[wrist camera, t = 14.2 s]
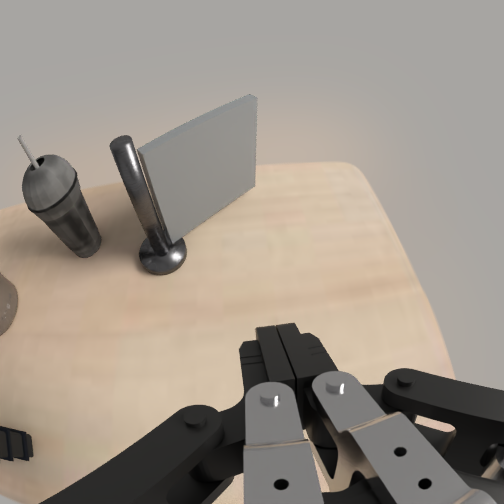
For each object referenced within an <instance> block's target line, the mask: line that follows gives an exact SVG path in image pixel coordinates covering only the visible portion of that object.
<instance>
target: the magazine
mask: <svg viewBox="0 0 504 504" xmlns="http://www.w3.org/2000/svg"><path fill="white" fill-rule="evenodd" d="M13 457H14V458H18V459H21V460H25V461H29V457H33V448H32V439H31V436H30V435H29V434H26V432H24V431H19V430H15V429H10V428H6V427H2V426H0V459H4V460H8V461H13Z"/></svg>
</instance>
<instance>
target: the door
mask: <svg viewBox="0 0 504 504" xmlns="http://www.w3.org/2000/svg"><path fill="white" fill-rule="evenodd" d="M256 131H257V97H255V96H253V95H250V94H249V95H246V96H244V97H242V98H239V99H237V100H235V101H232V102H230V103H228V104H225V105H223V106H221V107H218V108H216V109H214V110H212V111H210V112H207V113H205V114H203V115H201V116H199V117H197V118H195V119H193V120H191V121H189V122H187V123H185V124H183V125H181V126H179V127H177V128H175V129H173V130H171V131H169V132H167V133H165V134H164V135H162V136H160V137H158V138H156V139H154V140H153V141H151V142H149V143H147V144H145V145H144V146H142V147H140V148H138V149H137V151H138V155H139V157H140V161H141V164H142V167H143V170H144V173H145V177H146V180H147V183H148V186H149V188H150V191H151V194H152V197H153V200H154V203H155V206H156V209H157V211H158V214H159V217H160V220H161V223H162V225H163V228H164V231H165V233H166V236H167V238H168V239H169V241H170V242H171V243H172V244H173V243H175V242H176V241H177V240H179V239H180V238H181V237H183V236H184V235H186V234H187V233H188V232H190V231H191V230H193V229H194V228H195V227H197V226H198V225H200V224H201V223H202V222H204V221H205V220H207V219H208V218H209V217H211V216H212V215H214V214H215V213H217V212H218V211H219V210H221V209H222V208H224V207H225V206H227V205H228V204H230V203H231V202H232V201H234V200H235V199H237V198H238V197H240V196H241V195H243V194H244V193H246V192H247V191H249V190H250V189H252V188H253V187H255V170H256Z"/></svg>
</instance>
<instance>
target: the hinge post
mask: <svg viewBox="0 0 504 504" xmlns="http://www.w3.org/2000/svg"><path fill="white" fill-rule="evenodd" d="M110 149H111V151H112V154H113V157H114V160H115V162H116V165H117V167H118V170H119V172H120V175H121V178H122V180H123V182H124V185H125V187H126V190H127V192H128V195H129V197H130V199H131V202H132V204H133V206H134V209H135V211H136V213H137V216H138V218H139V220H140V222H141V225H142V227H143V229H144V231H145V234H146V236H147V238H146V239H145V240H144V242H143V243H142V245H141V247H140V251H139V257H140V260H141V262H142V264H143V266H144V267H145V269H146V270H147V271H148V272H150V273H152V274H155V275H167V274H170V273H172V272H174V271H176V270H177V269H178V268H180V267H181V266H182V264H183V263H184V261H185V259H186V255H187V249H186V245H185V242H184V240H183V238H182V237H181V238H180V239H179V240H177V241H176V242H175V243H173V244H172V243H171V242H170V241H169V239H168V238H167V236H166V233H165V231H164V230H163V229H162V226H161V224H160V221H159V218H158V216H157V213H156V210H155V207H154V204H153V202H152V199H151V196H150V193H149V190H148V187H147V184H146V181H145V178H144V175H143V172H142V169H141V166H140V163H139V160H138V157H137V154H136V151H135V148H134V145H133V141H132V138H131V137H130V136H127V135H124V136H120V137H118V138H116V139H114V140H113V141H112V142H111V143H110Z"/></svg>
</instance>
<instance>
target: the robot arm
mask: <svg viewBox="0 0 504 504" xmlns="http://www.w3.org/2000/svg"><path fill="white" fill-rule="evenodd" d="M17 303H18V296H17V291H16V288H15V286H14V285H13V284H12V283H11V282H10V281H9V280H8V279H7V278H5V277H4V276H3V275H2V274H1V273H0V335H1V334H3V333H4V332H5V331H6V330H7V329H8V328H9V326H10V325H11V323H12V321H13V319H14V316H15V314H16V310H17ZM239 353H240V361H241V369H242V377H243V385H244V396H243V398H242V399H241V401H240V402H239V403H238V404H236V405H235V406H233V407H232V408H229V409H227V410H224V411H221V412H218V411H217V410H216V409H214V408H212V407H210V406H206V405H192V406H187V407H185V408H182V409H180V410H179V411H177V412H176V413H175V414H173V415H172V416H171V417H169V418H168V419H167V420H166V421H164V422H163V423H162V424H160V425H159V426H158V427H156V428H155V429H153V430H152V431H151V432H149V433H148V434H147V435H145V436H144V437H143V438H141V439H140V440H138V441H137V442H136V443H134V444H133V445H131V446H130V447H128V448H127V449H126V450H124V451H123V452H121V453H120V454H118V455H117V456H115V457H114V458H112V459H111V460H110V461H108V462H107V463H105V464H104V465H102V466H100V467H99V468H97V469H96V470H94V471H93V472H91V473H90V474H88V475H87V476H85V477H83V478H82V479H80V480H79V481H77V482H75V483H74V484H72V485H70V486H69V487H67V488H65V489H64V490H62V491H60V492H59V493H57V494H55V495H54V496H52V497H50V498H48V499H47V500H45V501H43V502H41V503H39V504H212V503H213V502H214V501H215V500H216V499H217V498H218V497H219V496H220V495H221V494H222V492H223V491H224V490H225V489H226V488H227V487H228V486H229V485H230V484H231V483H232V481H233V479H234V476H235V475H238V474H241V473H244V504H504V391H503V390H498V389H493V388H488V387H484V386H479V385H474V384H470V383H466V382H461V381H457V380H453V379H449V378H445V377H441V376H437V375H433V374H429V373H425V372H421V371H417V370H414V369H408V368H401V369H396V370H393V371H391V372H389V373H388V374H387V375H386V376H385V379H384V383H383V384H378V385H361V384H360V382H359V381H358V380H357V379H356V378H355V377H354V376H353V375H351V374H349V373H346V372H342V371H338V369H337V367H336V366H335V364H334V362H333V361H332V359H331V358H330V356H329V354H328V353H327V351H326V350H325V348H324V347H323V345H322V343H321V342H320V340H319V338H317V337H316V336H314V335H312V334H311V333H305V334H300V332H299V330H298V328H297V326H296V324H295V323H288V324H281V325H276V326H274V325H273V326H265V327H257V328H256V340H253V341H245V342H243V344H242V345H241V347H240V348H239ZM417 415H419V416H423V417H426V418H430V419H433V420H437V421H440V422H444V423H448V424H451V425H452V426H454V427H455V430H453V431H451V432H444V431H440V430H436V429H433V428H429V427H426V426H423V425H419V424H416V423H415V421H416V418H417ZM304 429H306V431H307V434H308V437H309V439H310V440H308V439H305V438H304V434H303V430H304ZM312 452H313V454H314V457H315V459H316V461H317V463H318V465H319V467H320V469H321V471H322V473H323V476H324V478H325V480H326V482H327V484H328V487H329V490H330V492H322V493H321V488H320V484H319V480H318V475H317V471H316V467H315V463H314V458H313V454H312Z"/></svg>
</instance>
